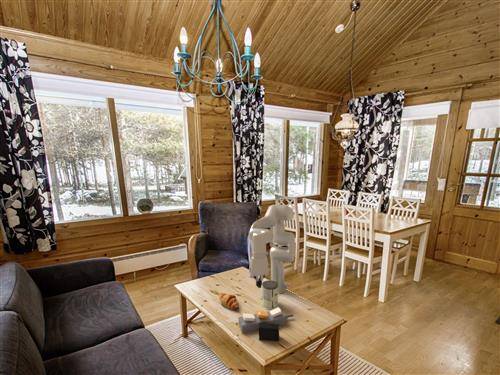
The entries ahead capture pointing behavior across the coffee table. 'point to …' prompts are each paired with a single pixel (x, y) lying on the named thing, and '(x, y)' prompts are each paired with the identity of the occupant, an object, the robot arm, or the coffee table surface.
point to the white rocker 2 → (275, 312)
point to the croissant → (229, 300)
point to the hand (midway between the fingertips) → (258, 286)
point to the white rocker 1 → (248, 317)
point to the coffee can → (270, 294)
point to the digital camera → (268, 331)
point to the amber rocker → (262, 314)
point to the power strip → (254, 325)
